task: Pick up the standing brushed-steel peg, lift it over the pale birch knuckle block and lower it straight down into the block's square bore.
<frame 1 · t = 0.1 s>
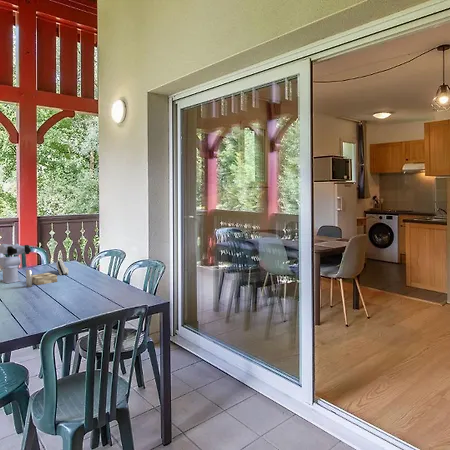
hand: (23, 250, 222), 22 cm above the table, tool horizontal, fingers open, 7 cm apart
knuckle block: (43, 281, 236), on the table
peg: (29, 286, 224), on the table
grey stapler: (62, 273, 263), on the table
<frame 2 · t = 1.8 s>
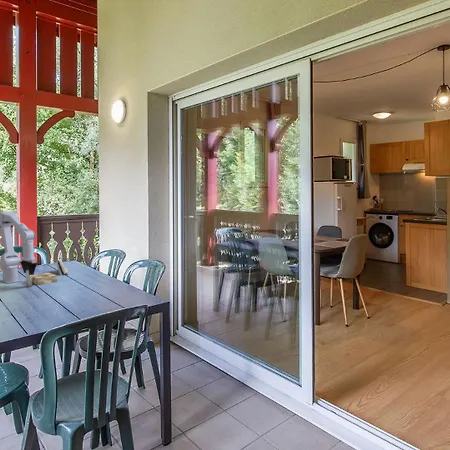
hand: (28, 273, 223), 8 cm above the table, tool pointing down, fingers open, 7 cm apart
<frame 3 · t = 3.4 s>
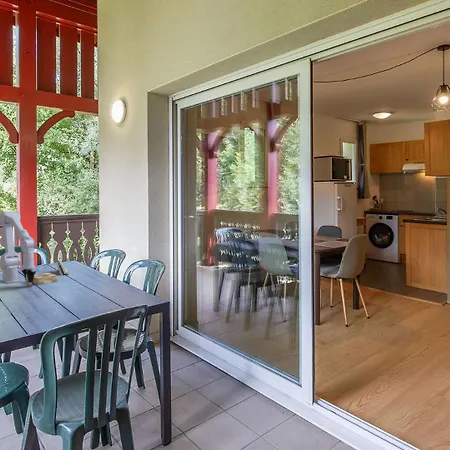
hand: (29, 281, 223), 3 cm above the table, tool pointing down, fingers closed on peg, 3 cm apart
peg: (29, 286, 224), on the table, touching gripper
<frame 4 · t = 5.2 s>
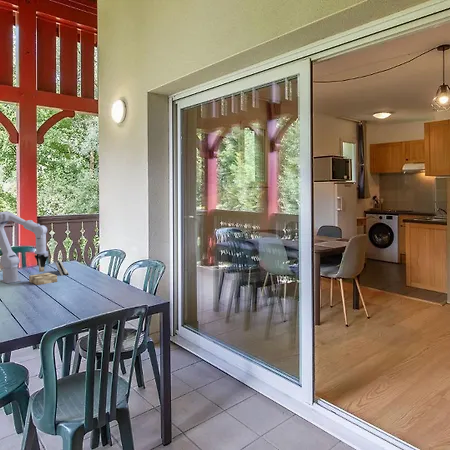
hand: (41, 266, 234), 10 cm above the table, tool pointing down, fingers closed on peg, 3 cm apart
peg: (41, 271, 234), point 7 cm above the table, touching gripper
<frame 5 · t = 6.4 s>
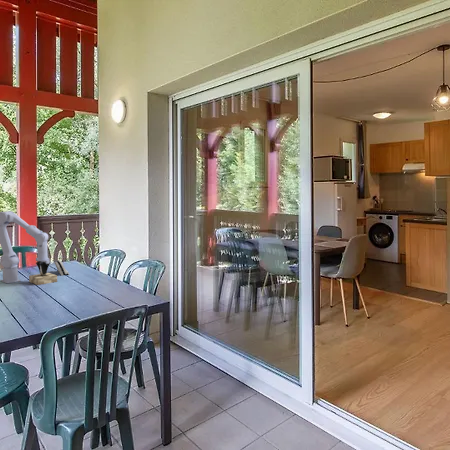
hand: (43, 273, 236), 5 cm above the table, tool pointing down, fingers closed on peg, 3 cm apart
peg: (43, 278, 236), point 2 cm above the table, touching gripper
when the fingers open (5 cm above the table, at t = 7.2 s): peg drops 2 cm, resting in knuckle block.
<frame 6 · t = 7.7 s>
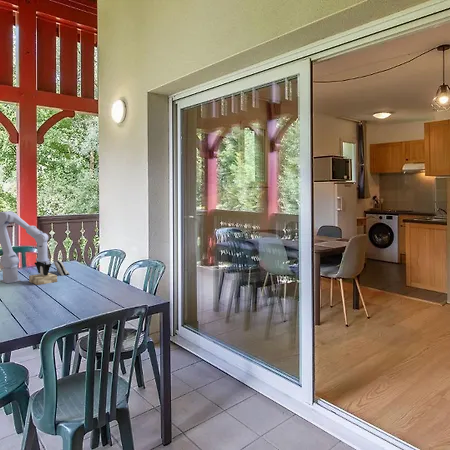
hand: (43, 274, 236), 5 cm above the table, tool pointing down, fingers open, 7 cm apart
peg: (43, 281, 236), resting in knuckle block
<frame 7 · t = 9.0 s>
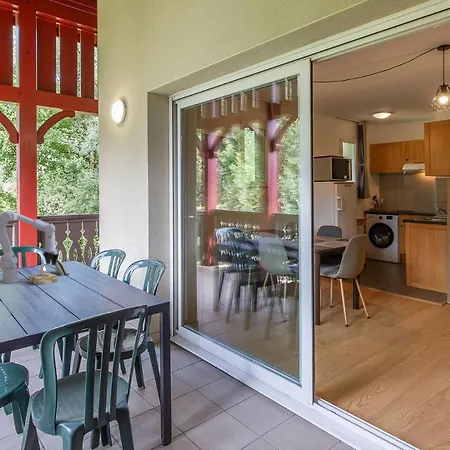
hand: (50, 264, 242), 10 cm above the table, tool pointing down, fingers open, 7 cm apart
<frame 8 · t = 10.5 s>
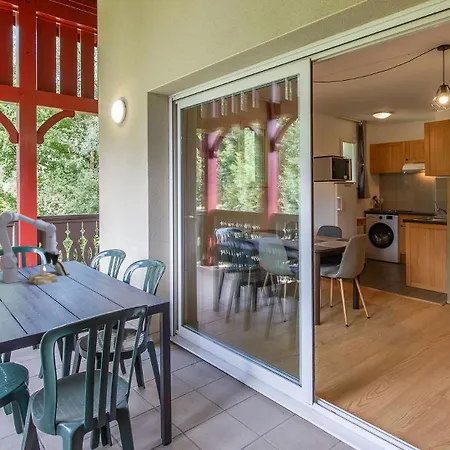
hand: (51, 264, 242), 10 cm above the table, tool pointing down, fingers open, 7 cm apart
at the end: peg 0.0 cm off-centre on the knuckle block, point 0.0 cm above the knuckle block's base; peg tilted 0°; the gripper is holding nothing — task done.
